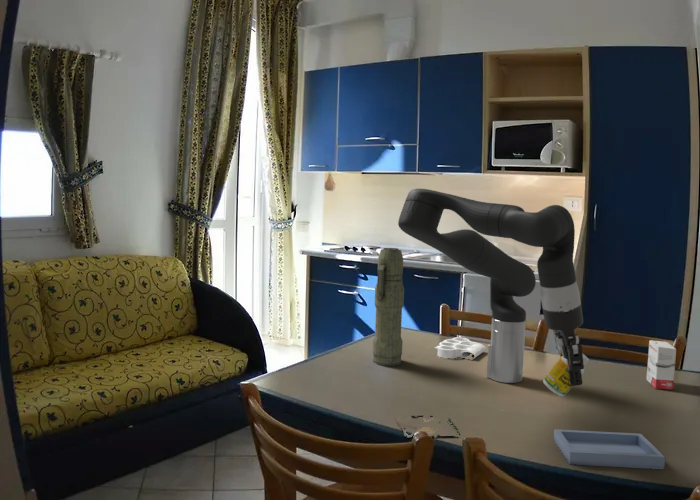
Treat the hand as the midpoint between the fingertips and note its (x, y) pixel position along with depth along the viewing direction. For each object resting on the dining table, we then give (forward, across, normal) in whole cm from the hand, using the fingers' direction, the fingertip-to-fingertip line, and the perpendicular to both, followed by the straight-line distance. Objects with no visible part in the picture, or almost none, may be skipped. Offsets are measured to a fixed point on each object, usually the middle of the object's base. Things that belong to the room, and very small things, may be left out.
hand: (572, 378), depth 124 cm
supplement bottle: (+2, 0, -4) cm, 5 cm away
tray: (+14, +6, +3) cm, 16 cm away
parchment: (+8, -2, -32) cm, 33 cm away
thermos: (+11, -51, -44) cm, 68 cm away
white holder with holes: (+18, -65, -22) cm, 71 cm away
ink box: (+28, -42, +31) cm, 59 cm away
